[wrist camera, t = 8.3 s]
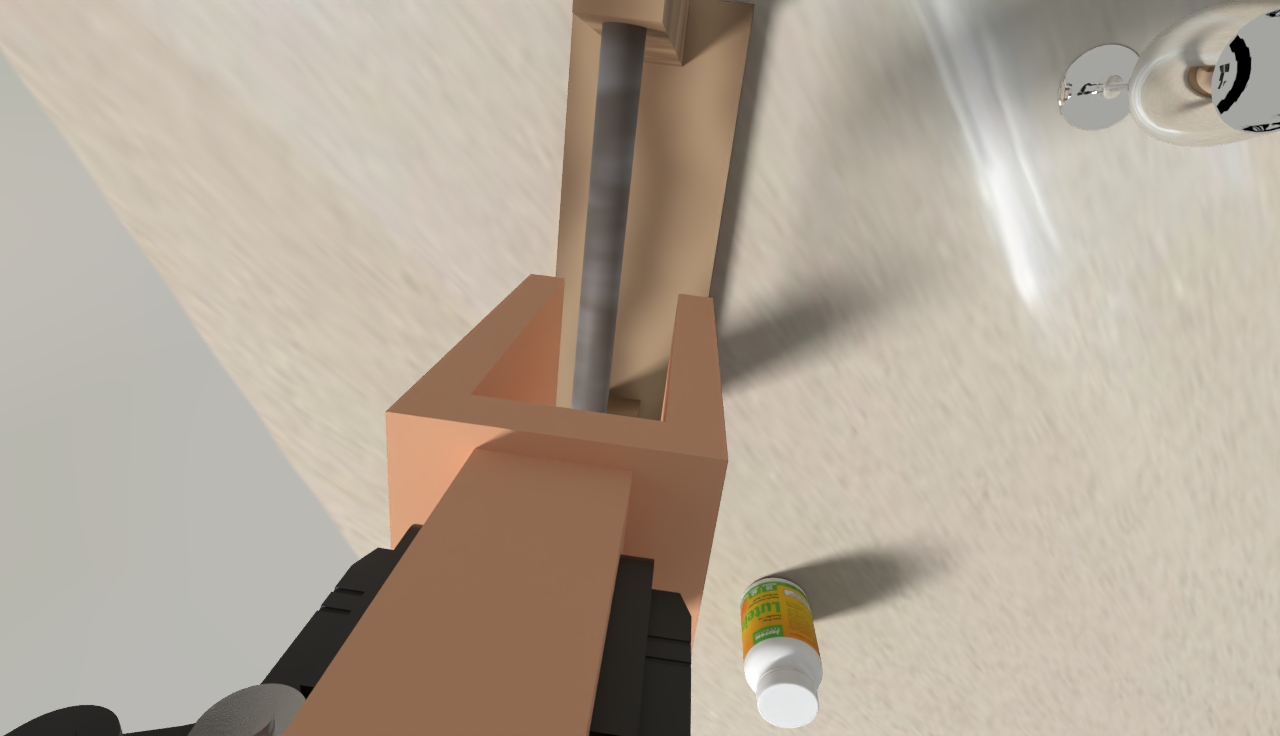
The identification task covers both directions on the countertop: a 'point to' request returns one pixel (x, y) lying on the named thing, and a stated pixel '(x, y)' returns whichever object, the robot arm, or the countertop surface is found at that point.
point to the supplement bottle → (781, 652)
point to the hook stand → (641, 187)
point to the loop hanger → (524, 532)
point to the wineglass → (1186, 79)
